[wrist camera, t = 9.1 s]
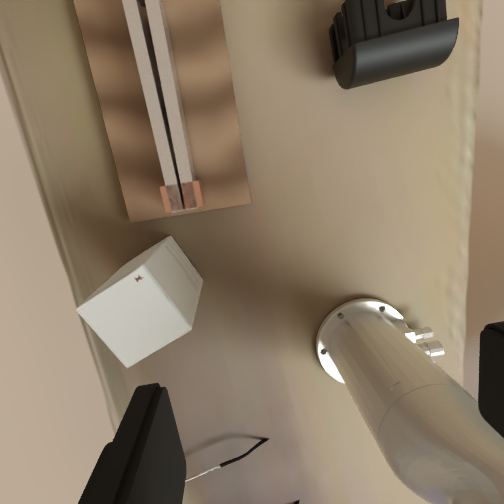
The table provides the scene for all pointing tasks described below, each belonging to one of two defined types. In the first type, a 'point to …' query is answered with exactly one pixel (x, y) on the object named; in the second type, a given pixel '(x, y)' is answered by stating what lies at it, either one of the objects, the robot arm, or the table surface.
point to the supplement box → (145, 303)
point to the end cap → (389, 39)
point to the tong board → (190, 84)
